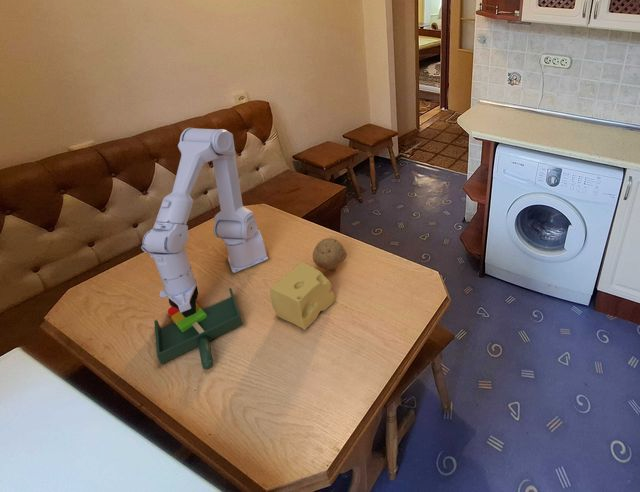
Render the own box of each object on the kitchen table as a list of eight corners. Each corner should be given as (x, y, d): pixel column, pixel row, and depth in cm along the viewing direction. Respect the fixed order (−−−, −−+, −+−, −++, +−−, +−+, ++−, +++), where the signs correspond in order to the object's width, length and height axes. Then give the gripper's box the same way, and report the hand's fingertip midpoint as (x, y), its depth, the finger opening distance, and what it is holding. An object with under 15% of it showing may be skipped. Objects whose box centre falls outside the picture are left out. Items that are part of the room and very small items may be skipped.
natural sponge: (309, 267, 107) (303, 240, 103) (335, 252, 114) (331, 226, 110) (324, 282, 102) (319, 255, 98) (351, 266, 108) (348, 239, 104)
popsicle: (192, 300, 95) (190, 295, 94) (218, 330, 87) (216, 324, 87) (167, 314, 91) (165, 309, 90) (192, 347, 83) (189, 341, 82)
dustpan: (158, 330, 87) (154, 320, 86) (233, 296, 97) (231, 287, 95) (164, 398, 73) (159, 388, 72) (251, 351, 83) (248, 341, 81)
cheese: (335, 301, 96) (331, 273, 92) (303, 333, 87) (297, 303, 83) (307, 288, 100) (301, 260, 96) (274, 317, 91) (266, 288, 87)
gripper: (153, 262, 87) (168, 304, 92) (155, 298, 77) (172, 343, 82) (188, 250, 91) (201, 291, 96) (195, 283, 81) (209, 327, 86)
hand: (190, 314), depth 89 cm, fingers closed, pressing on popsicle
